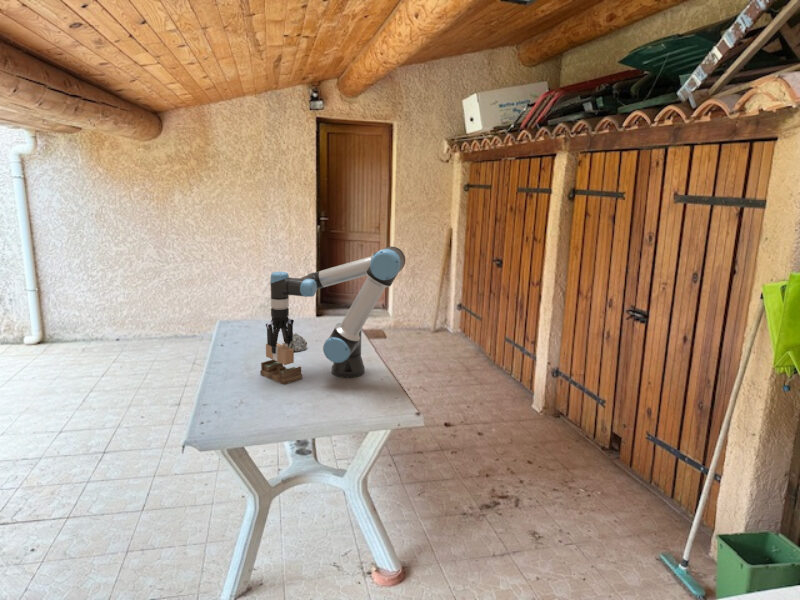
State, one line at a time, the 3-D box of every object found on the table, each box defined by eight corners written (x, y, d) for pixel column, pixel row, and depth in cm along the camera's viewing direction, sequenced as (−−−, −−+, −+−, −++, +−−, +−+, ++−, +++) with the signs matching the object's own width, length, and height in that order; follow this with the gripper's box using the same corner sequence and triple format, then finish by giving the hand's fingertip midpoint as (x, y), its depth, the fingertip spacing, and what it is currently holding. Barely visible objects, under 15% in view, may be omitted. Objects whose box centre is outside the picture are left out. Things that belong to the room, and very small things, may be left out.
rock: (277, 351, 267) (280, 340, 260) (286, 338, 274) (289, 327, 267) (300, 362, 267) (303, 352, 260) (308, 349, 274) (311, 338, 267)
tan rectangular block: (293, 362, 225) (293, 349, 223) (285, 365, 221) (285, 351, 220) (274, 354, 233) (274, 341, 232) (266, 356, 230) (265, 343, 229)
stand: (302, 378, 227) (302, 366, 226) (284, 384, 220) (283, 372, 218) (278, 369, 238) (278, 357, 236) (260, 374, 230) (260, 363, 229)
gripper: (290, 303, 231) (291, 352, 236) (257, 309, 217) (258, 361, 223) (301, 306, 226) (301, 356, 231) (268, 312, 213) (269, 365, 218)
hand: (280, 358), depth 227 cm, fingers closed on tan rectangular block, 4 cm apart
